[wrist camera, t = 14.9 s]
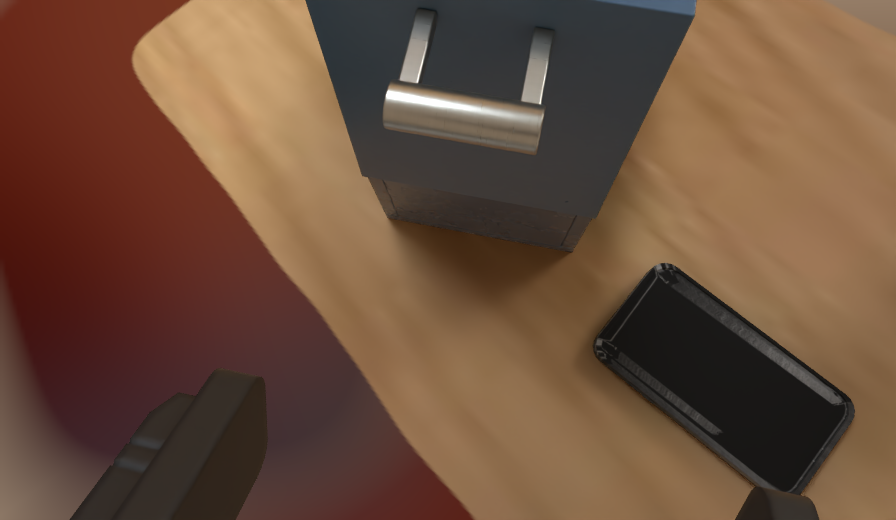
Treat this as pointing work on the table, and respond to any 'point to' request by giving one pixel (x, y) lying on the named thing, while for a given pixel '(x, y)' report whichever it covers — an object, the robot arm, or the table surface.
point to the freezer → (480, 215)
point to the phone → (724, 380)
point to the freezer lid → (499, 91)
